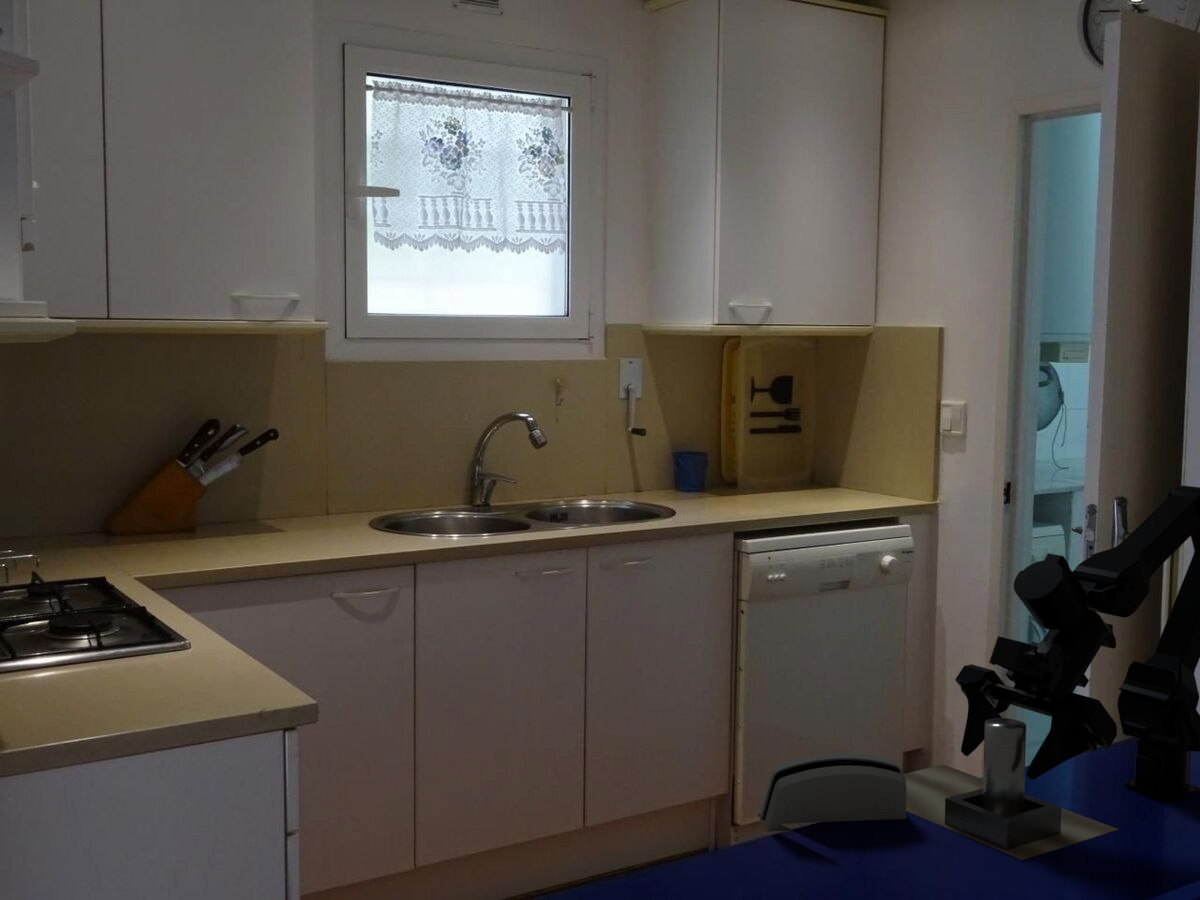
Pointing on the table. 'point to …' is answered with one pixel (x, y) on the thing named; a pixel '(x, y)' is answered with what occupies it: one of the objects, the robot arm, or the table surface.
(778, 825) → the grey arched block
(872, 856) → the table surface
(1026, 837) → the knuckle socket
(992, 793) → the pin
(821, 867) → the table surface
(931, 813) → the board
